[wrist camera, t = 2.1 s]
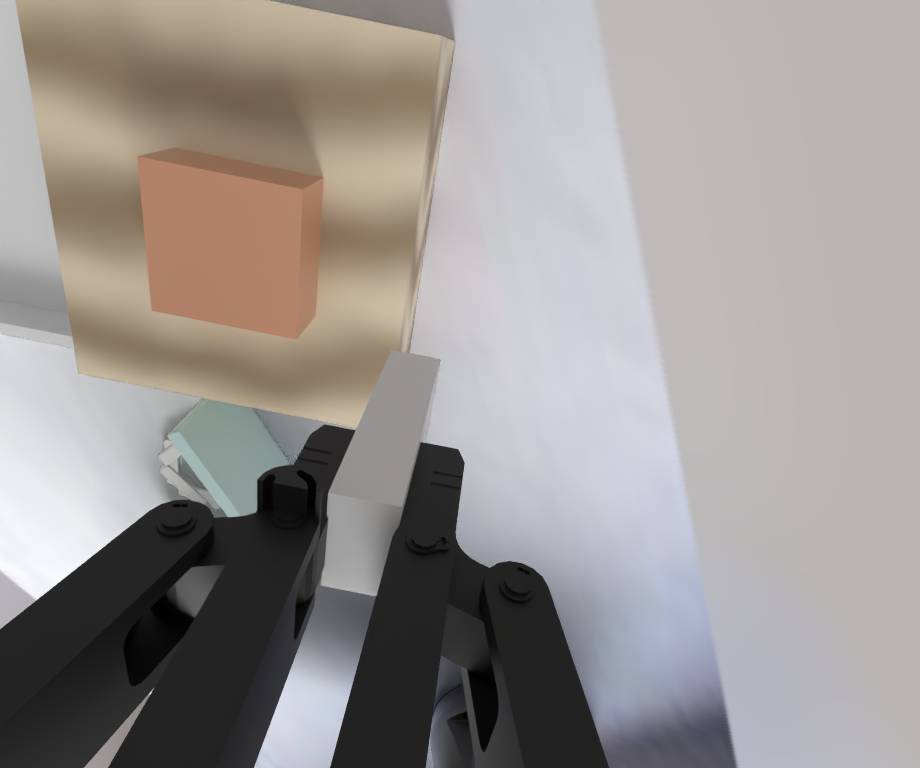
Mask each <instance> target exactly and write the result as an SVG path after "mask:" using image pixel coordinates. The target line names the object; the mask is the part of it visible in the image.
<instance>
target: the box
mask: <svg viewBox="0 0 920 768" xmlns="http://www.w3.org/2000/svg"><path fill="white" fill-rule="evenodd" d="M0 334H3V335H8V336H13V337H18V338H24V339H29V340H34V341H39V342H44V343H49V344H54V345H59V346H64V347H69V348H74V344H73V338H72V332H71V326H70V320H69V314H68V308H67V302H66V297H65V291H64V285H63V279H62V273H61V267H60V261H59V255H58V249H57V243H56V237H55V232H54V226H53V220H52V214H51V208H50V202H49V196H48V190H47V184H46V178H45V173H44V167H43V161H42V155H41V149H40V143H39V137H38V131H37V125H36V119H35V114H34V108H33V102H32V96H31V90H30V84H29V78H28V72H27V66H26V60H25V54H24V49H23V43H22V37H21V31H20V25H19V19H18V13H17V7H16V1H15V0H0Z"/></svg>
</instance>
